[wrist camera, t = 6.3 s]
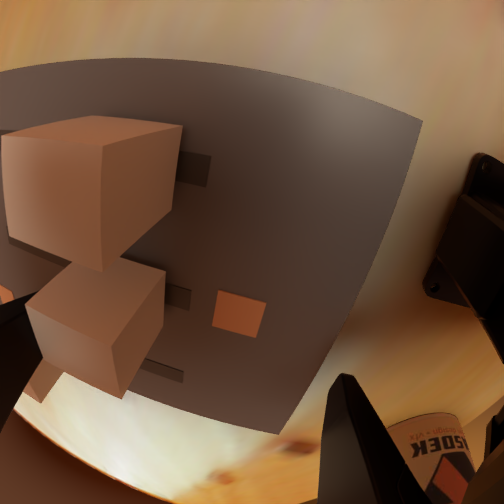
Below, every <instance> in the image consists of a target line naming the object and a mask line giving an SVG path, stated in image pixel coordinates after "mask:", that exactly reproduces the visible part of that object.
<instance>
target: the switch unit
mask: <svg viewBox="0 0 504 504" xmlns="http://www.w3.org/2000/svg"><path fill="white" fill-rule="evenodd" d="M92 115H94V116H107V117H118V118H128V119H137V120H145V121H153V122H160V123H168V124H174V125H181V126H183V128H182V134H181V140H180V147H179V154H178V161H177V168H176V176H175V183H174V192H173V200H172V209H171V211H170V212H168V213H167V214H166V215H165V216H164V217H163V218H162V219H160V220H159V221H158V222H157V223H156V224H155V225H154V226H153V227H151V228H150V229H149V230H148V231H147V232H146V233H145V234H144V235H142V236H141V237H140V238H139V239H138V240H137V241H136V242H135V243H134V244H133V245H132V246H130V247H129V248H128V249H127V250H126V251H125V252H124V253H123V254H122V255H121V256H120V257H121V258H124V259H127V260H130V261H134V262H137V263H140V264H143V265H146V266H150V267H153V268H156V269H159V270H163V271H166V277H165V296H164V321H163V327H162V329H161V331H160V332H159V334H158V336H157V337H156V339H155V341H154V343H153V344H152V346H151V348H150V350H149V351H148V353H147V355H146V357H145V358H144V360H143V362H142V364H141V365H140V367H139V369H138V371H137V372H136V374H135V376H134V378H133V379H132V381H131V383H130V385H129V387H128V388H127V390H129V391H132V392H134V393H137V394H139V395H142V396H144V397H147V398H150V399H152V400H155V401H158V402H161V403H163V404H166V405H169V406H172V407H175V408H178V409H181V410H184V411H187V412H190V413H193V414H197V415H200V416H203V417H207V418H210V419H214V420H217V421H221V422H225V423H229V424H232V425H236V426H241V427H245V428H249V429H253V430H258V431H263V432H268V433H273V434H278V435H279V433H280V432H281V430H282V429H283V427H284V426H285V424H286V423H287V421H288V420H289V418H290V417H291V415H292V413H293V412H294V410H295V409H296V407H297V405H298V404H299V402H300V401H301V399H302V397H303V396H304V394H305V392H306V391H307V389H308V387H309V386H310V384H311V382H312V381H313V379H314V377H315V376H316V374H317V372H318V370H319V369H320V367H321V365H322V363H323V361H324V360H325V358H326V356H327V354H328V352H329V351H330V349H331V347H332V345H333V343H334V341H335V339H336V338H337V336H338V334H339V332H340V330H341V328H342V326H343V324H344V322H345V320H346V318H347V316H348V314H349V312H350V310H351V308H352V306H353V304H354V302H355V300H356V298H357V296H358V294H359V291H360V289H361V287H362V285H363V283H364V281H365V279H366V276H367V274H368V272H369V270H370V267H371V265H372V263H373V261H374V258H375V256H376V254H377V251H378V249H379V246H380V244H381V242H382V239H383V237H384V234H385V232H386V229H387V227H388V224H389V222H390V219H391V216H392V214H393V211H394V209H395V206H396V203H397V200H398V198H399V195H400V192H401V189H402V186H403V184H404V181H405V178H406V175H407V172H408V169H409V166H410V163H411V159H412V156H413V153H414V150H415V147H416V143H417V140H418V136H419V133H420V129H421V126H422V122H423V121H422V120H420V119H417V118H415V117H413V116H410V115H408V114H406V113H403V112H401V111H398V110H396V109H393V108H391V107H388V106H385V105H383V104H380V103H377V102H375V101H372V100H369V99H366V98H363V97H360V96H357V95H354V94H351V93H348V92H345V91H342V90H338V89H335V88H332V87H328V86H325V85H321V84H317V83H314V82H310V81H306V80H302V79H298V78H294V77H289V76H285V75H280V74H276V73H271V72H266V71H261V70H255V69H250V68H244V67H237V66H231V65H223V64H216V63H207V62H198V61H187V60H173V59H152V58H109V59H89V60H75V61H65V62H56V63H48V64H41V65H35V66H29V67H23V68H18V69H12V70H8V71H3V72H0V305H1V304H4V303H6V302H9V301H12V300H15V299H17V298H20V297H23V296H26V295H28V294H31V293H34V292H37V291H39V290H41V289H42V288H43V287H44V286H45V285H46V284H47V283H49V282H50V281H51V280H52V279H53V278H54V277H55V276H57V275H58V274H59V273H60V272H61V271H62V270H63V269H65V268H66V267H67V266H68V265H69V264H71V263H72V261H69V260H67V259H64V258H62V257H59V256H57V255H54V254H51V253H49V252H46V251H44V250H41V249H39V248H36V247H34V246H32V245H29V244H27V243H24V242H22V241H20V240H17V239H15V238H13V237H10V236H9V232H8V225H7V218H6V210H5V202H4V192H3V179H2V157H1V135H5V134H8V133H12V132H16V131H20V130H23V129H27V128H31V127H36V126H40V125H44V124H49V123H54V122H58V121H64V120H69V119H74V118H80V117H86V116H92Z"/></svg>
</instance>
